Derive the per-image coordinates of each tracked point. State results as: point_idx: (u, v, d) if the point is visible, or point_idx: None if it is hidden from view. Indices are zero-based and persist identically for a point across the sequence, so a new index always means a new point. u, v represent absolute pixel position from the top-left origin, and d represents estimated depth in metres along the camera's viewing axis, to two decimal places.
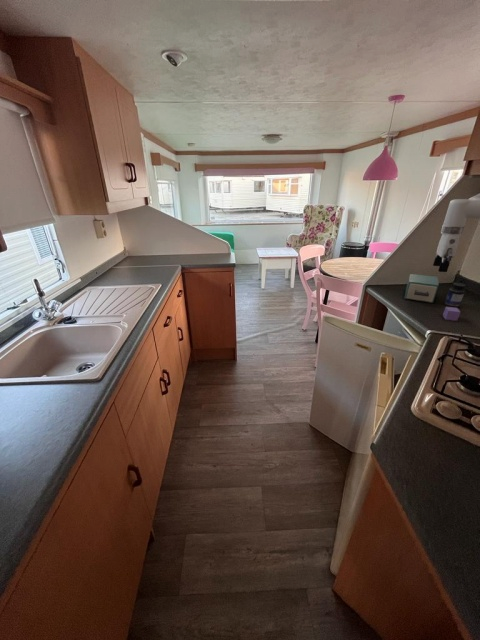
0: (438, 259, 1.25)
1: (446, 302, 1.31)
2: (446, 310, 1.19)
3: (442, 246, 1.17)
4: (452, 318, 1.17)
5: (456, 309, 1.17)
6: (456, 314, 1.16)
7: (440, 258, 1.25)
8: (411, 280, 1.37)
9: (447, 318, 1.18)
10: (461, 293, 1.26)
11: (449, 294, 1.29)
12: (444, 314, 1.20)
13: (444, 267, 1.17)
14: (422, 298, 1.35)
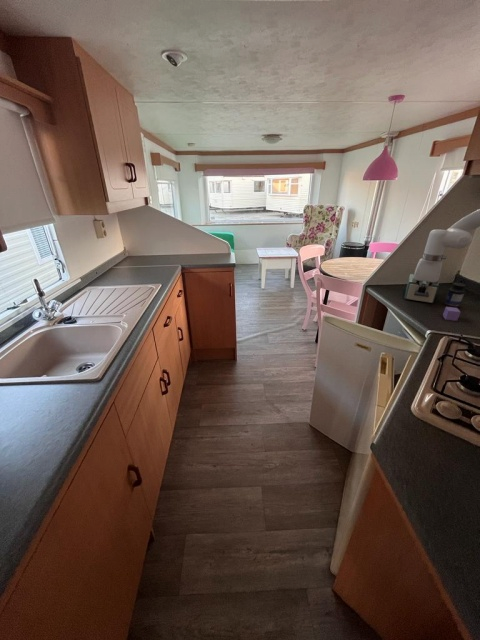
0: (422, 288, 1.31)
1: (446, 302, 1.31)
2: (446, 310, 1.19)
3: (434, 273, 1.24)
4: (452, 318, 1.17)
5: (456, 309, 1.17)
6: (456, 314, 1.16)
7: (422, 286, 1.31)
8: (411, 280, 1.37)
9: (447, 318, 1.18)
10: (461, 293, 1.26)
11: (449, 294, 1.29)
12: (444, 314, 1.20)
13: None
14: (422, 299, 1.34)
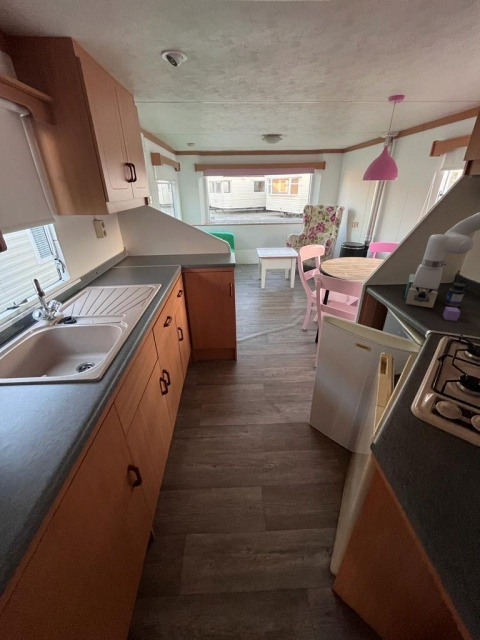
0: (422, 294, 1.26)
1: (446, 302, 1.31)
2: (446, 310, 1.19)
3: (434, 279, 1.19)
4: (452, 318, 1.17)
5: (456, 309, 1.17)
6: (456, 314, 1.16)
7: (422, 293, 1.26)
8: (411, 280, 1.37)
9: (447, 318, 1.18)
10: (461, 293, 1.26)
11: (449, 294, 1.29)
12: (444, 314, 1.20)
13: None
14: (422, 304, 1.29)
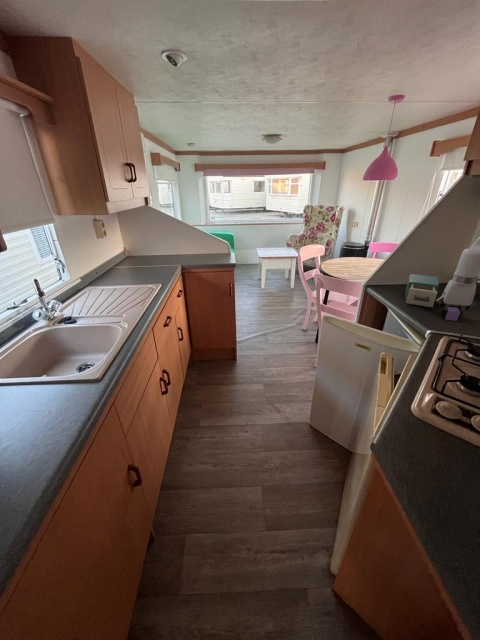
0: None
1: None
2: None
3: (468, 296, 1.11)
4: (452, 318, 1.17)
5: (456, 309, 1.17)
6: (456, 314, 1.16)
7: None
8: (411, 280, 1.37)
9: (447, 318, 1.18)
10: None
11: None
12: None
13: None
14: (422, 303, 1.30)
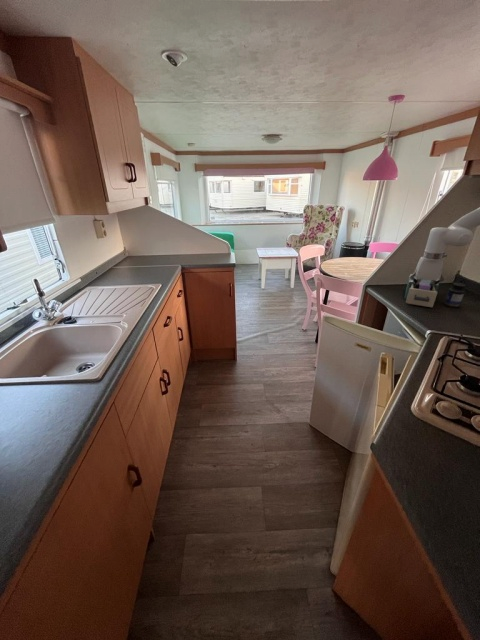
0: None
1: (446, 302, 1.31)
2: None
3: (436, 271, 1.23)
4: None
5: (427, 284, 1.29)
6: (427, 288, 1.28)
7: None
8: (411, 280, 1.37)
9: None
10: (461, 293, 1.26)
11: (449, 294, 1.29)
12: None
13: None
14: (422, 303, 1.30)
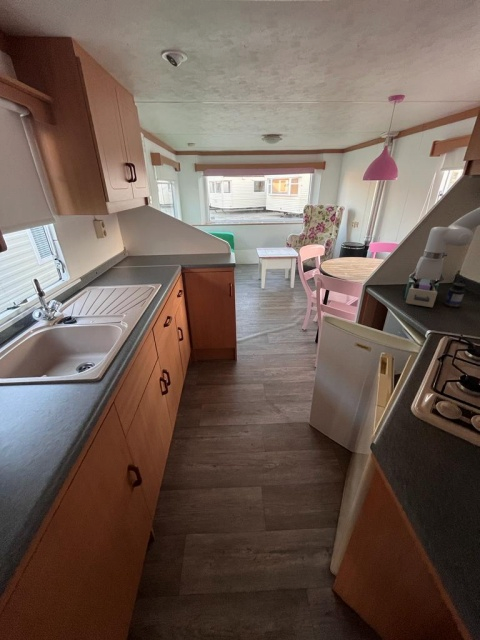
0: None
1: (446, 302, 1.31)
2: None
3: (436, 270, 1.23)
4: None
5: (427, 284, 1.29)
6: (427, 287, 1.28)
7: None
8: (411, 280, 1.37)
9: None
10: (461, 293, 1.26)
11: (449, 294, 1.29)
12: None
13: None
14: (422, 303, 1.30)
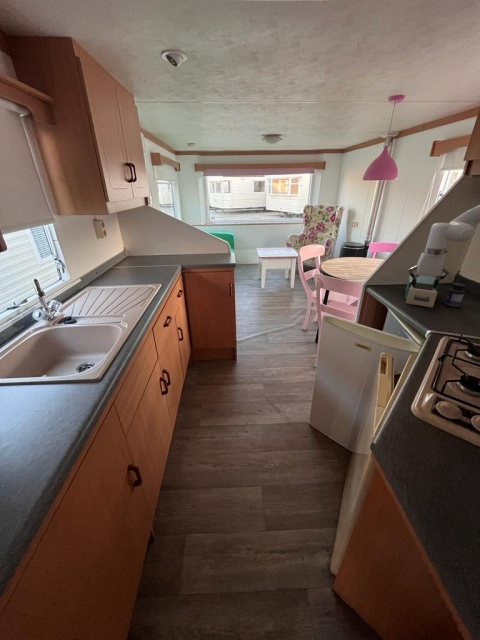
0: None
1: (446, 302, 1.31)
2: None
3: (438, 267, 1.22)
4: None
5: None
6: None
7: None
8: (411, 280, 1.37)
9: None
10: (461, 293, 1.26)
11: (449, 294, 1.29)
12: None
13: None
14: (422, 303, 1.30)
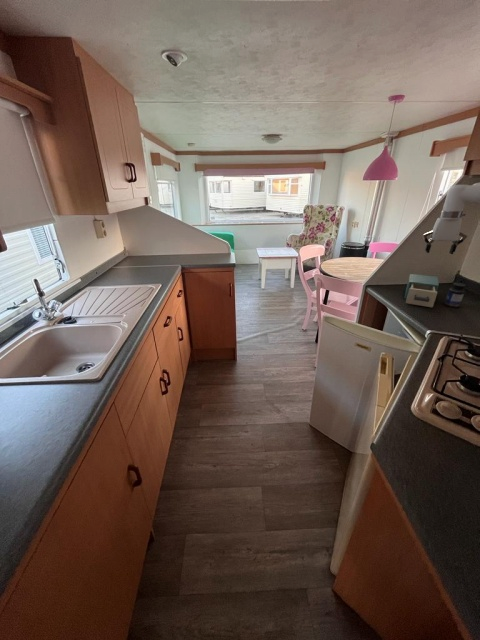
0: None
1: (446, 302, 1.31)
2: None
3: (454, 231, 1.20)
4: None
5: None
6: None
7: None
8: (411, 280, 1.37)
9: None
10: (461, 293, 1.26)
11: (449, 294, 1.29)
12: None
13: None
14: (422, 303, 1.30)
